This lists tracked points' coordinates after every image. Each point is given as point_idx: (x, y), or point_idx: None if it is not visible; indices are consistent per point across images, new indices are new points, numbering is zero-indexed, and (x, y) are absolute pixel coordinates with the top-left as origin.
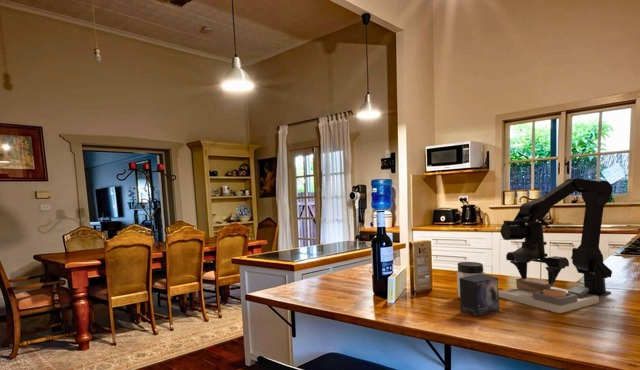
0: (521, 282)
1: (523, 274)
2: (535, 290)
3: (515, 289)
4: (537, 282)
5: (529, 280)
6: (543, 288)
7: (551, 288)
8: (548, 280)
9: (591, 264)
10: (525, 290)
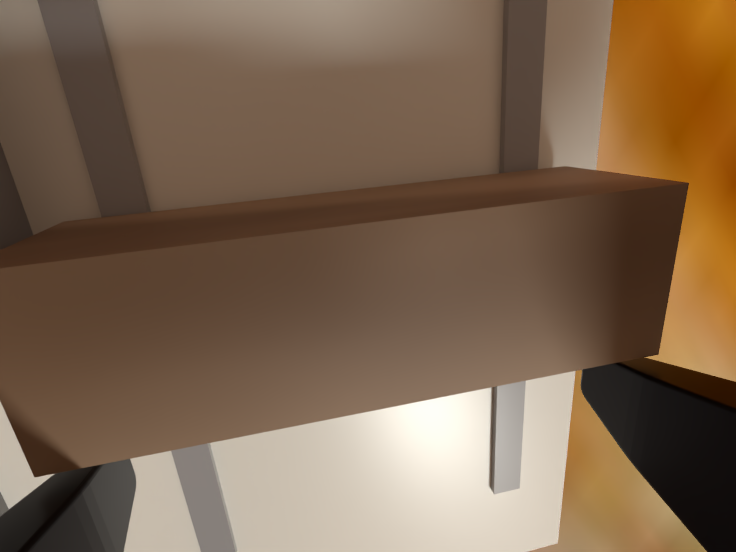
0: (543, 188)
1: (702, 429)
2: (243, 205)
3: (526, 68)
4: (256, 339)
5: (469, 336)
6: (43, 246)
7: (337, 542)
8: (33, 530)
9: None
10: None
